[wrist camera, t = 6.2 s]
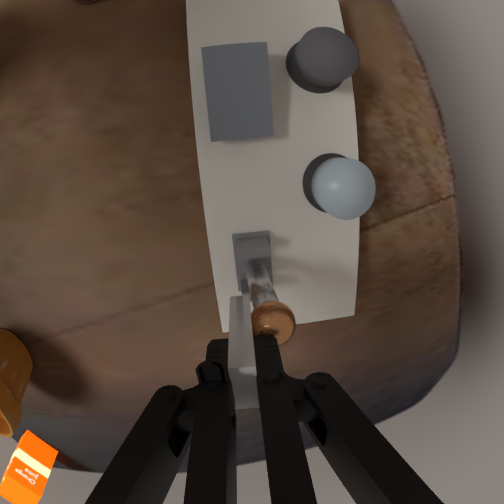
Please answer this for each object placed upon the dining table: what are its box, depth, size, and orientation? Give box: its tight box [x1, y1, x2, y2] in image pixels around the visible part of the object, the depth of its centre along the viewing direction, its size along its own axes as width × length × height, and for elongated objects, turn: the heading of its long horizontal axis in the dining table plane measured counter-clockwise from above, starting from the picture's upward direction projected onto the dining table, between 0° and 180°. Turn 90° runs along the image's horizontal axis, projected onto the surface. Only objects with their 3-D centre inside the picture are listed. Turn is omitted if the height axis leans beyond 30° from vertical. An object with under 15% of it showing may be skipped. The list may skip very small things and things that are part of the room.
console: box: [186, 0, 360, 332], centre depth 22 cm, size 13×32×7 cm, turn 5°
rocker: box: [201, 42, 274, 142], centre depth 18 cm, size 4×7×1 cm, turn 5°
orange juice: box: [0, 430, 58, 504], centre depth 33 cm, size 8×9×20 cm
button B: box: [312, 157, 376, 220], centre depth 20 cm, size 4×4×2 cm
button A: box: [294, 27, 359, 86], centre depth 17 cm, size 4×4×2 cm
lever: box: [245, 259, 296, 346], centre depth 19 cm, size 3×3×10 cm
